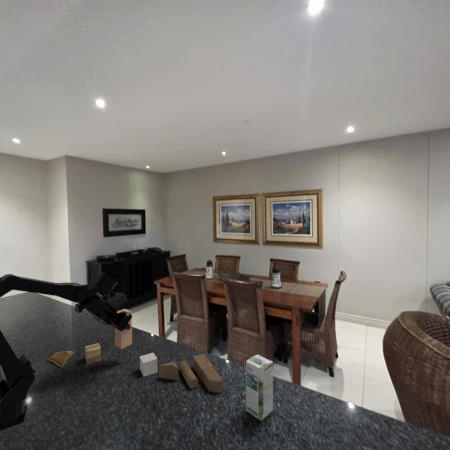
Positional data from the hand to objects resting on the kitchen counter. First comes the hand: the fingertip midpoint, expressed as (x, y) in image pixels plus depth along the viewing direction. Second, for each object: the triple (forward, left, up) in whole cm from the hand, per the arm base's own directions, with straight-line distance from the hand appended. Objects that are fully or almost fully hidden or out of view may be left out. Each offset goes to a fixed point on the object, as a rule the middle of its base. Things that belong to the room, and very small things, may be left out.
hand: (126, 326), depth 98 cm
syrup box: (-49, -27, -14) cm, 57 cm away
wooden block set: (-26, -15, -14) cm, 33 cm away
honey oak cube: (+8, +11, -14) cm, 20 cm away
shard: (+15, +21, -14) cm, 30 cm away
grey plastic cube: (-12, -5, -14) cm, 19 cm away
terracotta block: (-1, +1, -7) cm, 7 cm away
